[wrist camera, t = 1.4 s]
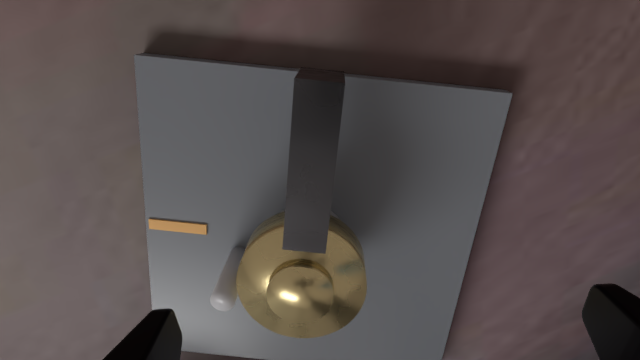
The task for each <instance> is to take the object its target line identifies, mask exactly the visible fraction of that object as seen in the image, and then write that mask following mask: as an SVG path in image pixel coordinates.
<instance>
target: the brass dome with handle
mask: <svg viewBox="0 0 640 360" xmlns="http://www.w3.org/2000/svg"><path fill="white" fill-rule="evenodd" d="M344 90H345V76H344V72H341V71H331V70H322V69H312V68H302V67H301V69H300V70H299V72H298V73H297V75H296V76H295V78H294V89H293V104H292V118H291V132H290V147H289V161H288V175H287V190H286V204H285V211H284V212H281V213H278V214H275V215H273V216H271V217H270V218H268V219H267V220H265V221H264V222H263V223H261V224H260V225H259V226H258V227H257V228H256V230H255V231H254V232H253V234H252V235H251V237H250V239H249V241H248V244H247V246H246V249H245V251H244V254H243V256H242V259H241V262H240V264H239V267H238V271H237V277H236V286H237V292H238V295H239V298H240V301H241V303H242V305H243V306H244V308H245V309H246V311H247V312H248V314H249V315H250V316H251V317H252V318H253V319H254V320H255V321H257V322H258V323H259V324H260V325H262V326H263V327H265V328H267V329H269V330H271V331H273V332H275V333H278V334H280V335H284V336H288V337H294V338H315V337H321V336H325V335H328V334H331V333H333V332H336V331H338V330H339V329H341V328H343V327H344V326H346V325H347V324H348V323H350V322H351V321H352V320H353V319H354V318H355V316H356V315H357V314H358V313H359V311H360V309H361V308H362V306H363V303H364V301H365V297H366V292H367V280H366V270H365V261H364V254H363V249H362V246H361V244H360V242H359V240H358V238H357V236H356V235H355V234H354V232H353V231H352V230H351V229H350V228H349V227H348V226H347V225H346V224H345V223H343V222H342V221H341V220H339V219H338V218H336V217H334V216H332V215H330V212H331V203H332V194H333V186H334V177H335V168H336V160H337V151H338V142H339V134H340V125H341V116H342V108H343V99H344Z"/></svg>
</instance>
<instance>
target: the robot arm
mask: <svg viewBox="0 0 640 360" xmlns="http://www.w3.org/2000/svg"><path fill="white" fill-rule="evenodd" d="M582 318H583V322H584V324H585V327H586V329H587V331H588V334H589V336H590V338H591V340H592V343H593V345H594V347H595V350H596V352H597V354H598V356H599V359H600V360H640V298H638V297H637V296H635V295H633V294H632V293H630V292H628V291H627V290H625V289H623V288H622V287H620V286H618V285H616V284H596V285H594V286H592V287H591V289H590V291H589V294H588V297H587V299H586V302H585V304H584V307H583V310H582ZM181 348H182V332H181V329H180V326H179V323H178V320H177V318H176V315H175V312H174V311H173V310H172V309H170V308H167V309H155V310H153V311H151V312H150V313H149V314H148V315H147V316H146V317H145V318H144V319H143V320H142V321H141V322H140V323H139V324H138V325H137V326H136V327H135V328H134V329H133V330H132V331H131V332H130V333H129V334H128V335H127V336H126V337H125V338H124V339H123V340H122V341H121V342H120V343H119V344H118V345H117V346H116V347H115V348H114V349H113V350H112V351H111V352H110V353H109V354H108V355H107V356H106V357H105V358H104V359H103V360H180V354H181Z"/></svg>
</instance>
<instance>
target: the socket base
mask: <svg viewBox="0 0 640 360" xmlns="http://www.w3.org/2000/svg"><path fill="white" fill-rule="evenodd" d="M134 61H135V75H136V89H137V104H138V118H139V132H140V146H141V160H142V174H143V188H144V203H145V217H146V231H147V245H148V259H149V273H150V287H151V301H152V311H153V310H155V309H167V308H170V309H172V310H173V311H174V312H175V315H176V318H177V320H178V323H179V326H180V329H181V332H182V348H181V351H187V352H197V353H206V354H216V355H226V356H236V357H245V358H255V359H265V360H442V356H443V353H444V349H445V345H446V341H447V338H448V334H449V330H450V326H451V323H452V319H453V315H454V311H455V308H456V304H457V300H458V296H459V293H460V289H461V285H462V281H463V278H464V274H465V270H466V266H467V263H468V259H469V255H470V251H471V248H472V244H473V240H474V236H475V233H476V229H477V225H478V221H479V218H480V214H481V210H482V206H483V203H484V199H485V195H486V192H487V188H488V184H489V180H490V177H491V173H492V169H493V165H494V162H495V158H496V154H497V150H498V147H499V143H500V139H501V135H502V132H503V128H504V124H505V120H506V117H507V113H508V109H509V105H510V102H511V98H512V94H513V93H511V92H508V91H506V90H502V89H492V88H482V87H472V86H463V85H453V84H443V83H433V82H423V81H414V80H404V79H394V78H384V77H374V76H364V75H355V74H345V73H344V76H345V90H344V99H343V108H342V116H341V125H340V134H339V142H338V151H337V160H336V168H335V177H334V186H333V194H332V203H331V212H330V215H332V216H334V217H336V218H338V219H339V220H341V221H342V222H343V223H345V224H346V225H347V226H348V227H349V228H350V229H351V230H352V231H353V232H354V234H355V235H356V236H357V238H358V240H359V242H360V244H361V246H362V249H363V254H364V261H365V270H366V280H367V292H366V297H365V301H364V303H363V306H362V308H361V309H360V311H359V313H358V314H357V315H356V316H355V318H354V319H353V320H352V321H351V322H350V323H348V324H347V325H346V326H344V327H343V328H341V329H339V330H338V331H336V332H333V333H331V334H328V335H325V336H321V337H315V338H294V337H288V336H284V335H280V334H278V333H275V332H273V331H271V330H269V329H267V328H265V327H263V326H262V325H260V324H259V323H258V322H257V321H255V320H254V319H253V318H252V317H251V316H250V315H249V314H248V312H247V311H246V309H245V308H244V306H243V305H242V303H241V301H240V298H239V295H238V292H237V286H236V277H237V271H238V267H239V264H240V262H241V259H242V256H243V254H244V251H245V249H246V246H247V244H248V241H249V239H250V237H251V235H252V234H253V232H254V231H255V230H256V228H257V227H258V226H259V225H260V224H261V223H263V222H264V221H265V220H267V219H268V218H270V217H271V216H273V215H275V214H278V213H281V212H284V211H285V204H286V190H287V175H288V161H289V147H290V132H291V118H292V104H293V89H294V78H295V76H296V75H297V73H298V72H299V70H300V69H296V68H286V67H276V66H266V65H256V64H247V63H237V62H227V61H217V60H207V59H198V58H188V57H178V56H168V55H158V54H148V53H141V54H136V55H134Z"/></svg>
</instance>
